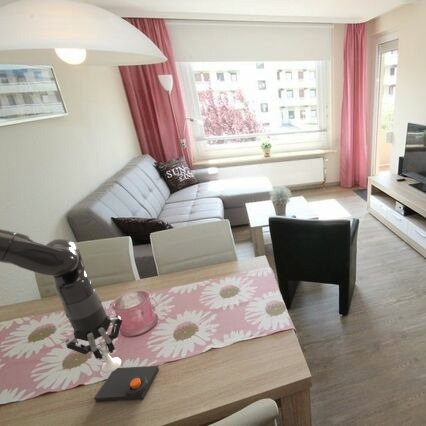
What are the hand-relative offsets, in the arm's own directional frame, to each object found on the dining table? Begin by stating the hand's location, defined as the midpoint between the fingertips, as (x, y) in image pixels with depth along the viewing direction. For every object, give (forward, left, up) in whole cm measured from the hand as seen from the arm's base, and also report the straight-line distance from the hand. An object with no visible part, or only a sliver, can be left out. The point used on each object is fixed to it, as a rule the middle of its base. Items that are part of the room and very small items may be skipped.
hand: (105, 354), depth 86 cm
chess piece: (0, 0, -5) cm, 5 cm away
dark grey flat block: (+2, -2, -14) cm, 14 cm away
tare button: (+3, -7, -11) cm, 13 cm away
